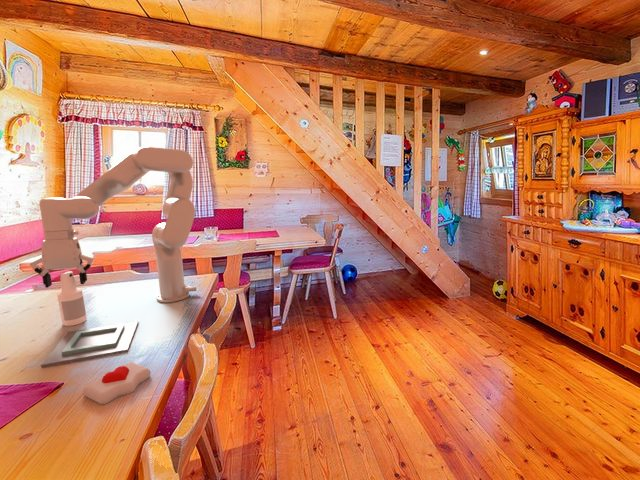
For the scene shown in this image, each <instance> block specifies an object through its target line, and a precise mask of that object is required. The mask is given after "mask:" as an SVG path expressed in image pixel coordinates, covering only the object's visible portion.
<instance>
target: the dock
mask: <svg viewBox="0 0 640 480" xmlns="http://www.w3.org/2000/svg"><path fill="white" fill-rule="evenodd" d="M138 325H139V321H138V320H136V321H129V322H124V323H118V324H110V325H104V326H99V327H98V326H96V327H91V328H90V327H89V328H86V329H85V328H83V329H79V330H77V329H76V330H72V331H67V332H66V333H65V334H64V336H63V337H62V339H61V340H60V341H59V342H58V343H57V344H56V346H55V347H54V348H53V349H52V351H51V352H50V353H49V354H48V356H47V357H46V358H44V361H43V362H42V363H41V365H40V367H41V368H47V367H51V366H53V367H54V366H57V365H62V364H63V365H64V364H68V363H69V364H70V363H74V362H80V361H84V360H85V361H86V360H92V359H95V358H96V359H97V358H101V357H102V358H103V357H107V356H112V354H114V355H118V354H117V353H119V354H123V353H122V352H124V353H128V352H129V350H130V347H131V344H132V342H133V339H134V335H135V334H136V332H137V328H138Z"/></svg>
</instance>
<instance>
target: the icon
mask: <svg viewBox="0 0 640 480" xmlns="http://www.w3.org/2000/svg"><path fill="white" fill-rule="evenodd" d="M150 377H151V370H150V369H149V368H147V367H145V366H143V365H141V364H137V363H135V362H134V361H132V362H128V363H125V364H124V365H122V366H118V367H117V368H115V369H114V370H112V371H109V372H107V373H105V374H104V375H103V376H101V377H99V378H97V379H95V380H94V381H93V380H92V381H91V382H90V383H88V384H86V385H85V386H84V387H83V390H82V393H83V395H84V396H85V397H86V398H89V399H91V400H92V401H94V402H96V403H97V404H99V405H105V404H108V403H110V402H111V401H113V400H115V399H116V398H118V397H120V396H124V395H128V394H132V393H134V392H135V390H136V388H137V387H138V386H139V384H141V383H143V382H145V381H146V380H148V379H149V378H150ZM147 378H148V379H147Z"/></svg>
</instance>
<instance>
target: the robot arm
mask: <svg viewBox="0 0 640 480" xmlns="http://www.w3.org/2000/svg"><path fill="white" fill-rule="evenodd" d="M193 165H194V159H193V157H192V155H191V154H190V153H189V152H187V151H185V150H182V149H176V148H175V149H174V148H164V147H154V146H142V147H138V148H135V149H133V150H132V151H131V152H130V153H128V154H127V155H126V156H124V157H123V158H122V159H120V160H119V161H118V162H117V163H115V165H113V166H111V168H109V169H108V170H106V171H105V172H104V173H103V174H102V175H101V176H99V177H98V178H97V179H96V180H94V181H93V182H92V183H90V184H89V185H88V186H86V187H85V188H83V189H82V190H81V191H80V192H79V193H77V194H76V195H75V196H73V197H72V198H64V197H45V198H41V199H40V200H39V210H40V216H41V223H42V229H43V235H44V236H43V237H44V240H43V239H42V243H41V258H39V259H37V260H34V261H33V262H32V261H31V262H30V263H29V266H30V267H31V269H33V271H34V272H35V273H37V274H38V275H40V277H42V283H43V285H44V288H49V287H51V286H52V285H53V281H52V277H51V273H50V271H57V270H58V271H59V270H68V269H69V270H71V269H76V270H77V271H79V273H78V275H79V282H80V283H79V284H80V285H84V284H85V283H86V282H88V281H87V280H88V275H87V271H88V270H89V269H90V268H91V267H92V265H93V263H94V261H95V259H94V258H92V257H90V256H88V255H85V254H83V253H82V249H81V246H80V245H81V244H80V242H79V239H78V238H77V237H76V236H78V235H79V231H78V230H75V229H74V228H73V221H72V219H74V220H75V219H76V220H90V219H93V218H95V217H96V216H97V215H98V213H99V211H100V207H101V206H102V205H103V204H104V203H106V201H108V200H110V199H111V198H113V197H114V196H116V195H119V194H121V193H124V192H125V191H127V190H128V189H129V188H131V187H132V186H134V184H136V182H138V181H139V180H140V179H142V177H144V176H145V175H146V174H147V173H149V172H151V171H152V172H163V173H166V172H167V174H168V176H169V186H168V190H167V193H166V196H165V198H164V202H163V205H162V209H161V210H162V213H163V216H164V217H165V218H166V221H163V222H161V223H158V224H156V225H155V226H154V228H153V229H152V233H151V238H152V239H151V241H152V244H153V248H154V253H155V258H156V259H155V260H156V268H157V276H158V283H159V284H158V286H159V294H157V295H156V301H157V302H159V303H164V304H165V303H174V302H175V303H177V302H179V301H183V300H185V299H187V298H189V296H190V292H197V291H198V289H197V286H194V285H186V284H187V283H186V282H185V275H184V267H183V266H184V264H183V255H182V254H183V253H182V247H184V246H185V244H186V243H187V242H188V238H189V237H190V232H191V230H192V227H193V223H194V220H195V216H196V207H195V205H194V203H193V202H192V201H191V199H190V198H191V195H192V191H193V186H194V185H193V184H194V180H193V177H192V176H193V175H192V174H191V171H190V170H191V169H192V168H193ZM84 261H86V262H87V263H86V264H85V265H84ZM41 263H42V267H43V268H41V267H40V266H39V265H40V264H41Z"/></svg>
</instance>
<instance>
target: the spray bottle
mask: <svg viewBox="0 0 640 480" xmlns="http://www.w3.org/2000/svg"><path fill="white" fill-rule="evenodd" d="M59 275H60V288H61V290H60V291H59V292H58V293H57V295H56V296H57V302H58V307H59V312H60V319H61V324H62V325H63V326H66V327H72V326H73V327H74V326H77V325H80V324H83V323H84V322H86V321H87V311H86V304H85V300H84V293H83V290H82V289H81V288H79V287H78V286H77V283H76V279H75V276H74V272H73V271H71V270H70V271H65V272H63V273H60V274H59Z"/></svg>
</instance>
